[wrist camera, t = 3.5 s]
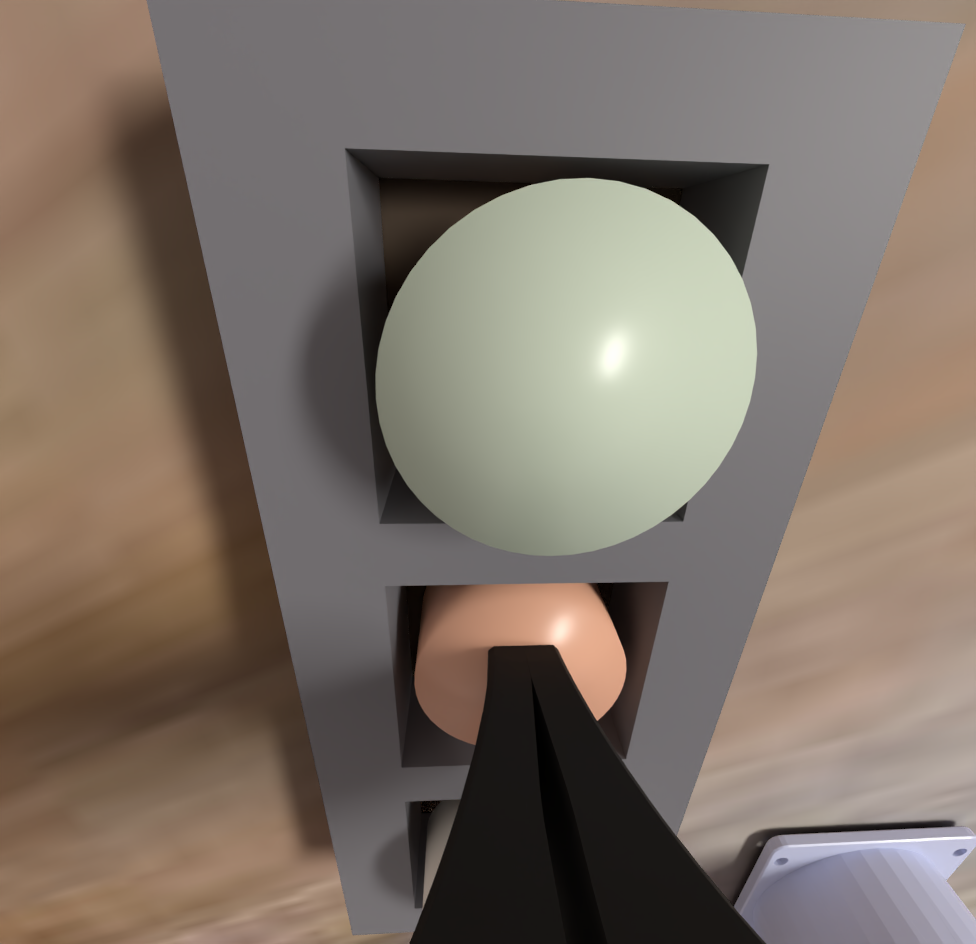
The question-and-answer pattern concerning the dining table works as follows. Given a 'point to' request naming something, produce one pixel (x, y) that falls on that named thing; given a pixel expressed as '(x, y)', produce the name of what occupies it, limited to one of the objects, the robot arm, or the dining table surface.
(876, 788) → the dining table surface
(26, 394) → the dining table surface
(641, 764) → the button board
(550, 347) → the sage button
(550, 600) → the terracotta button
